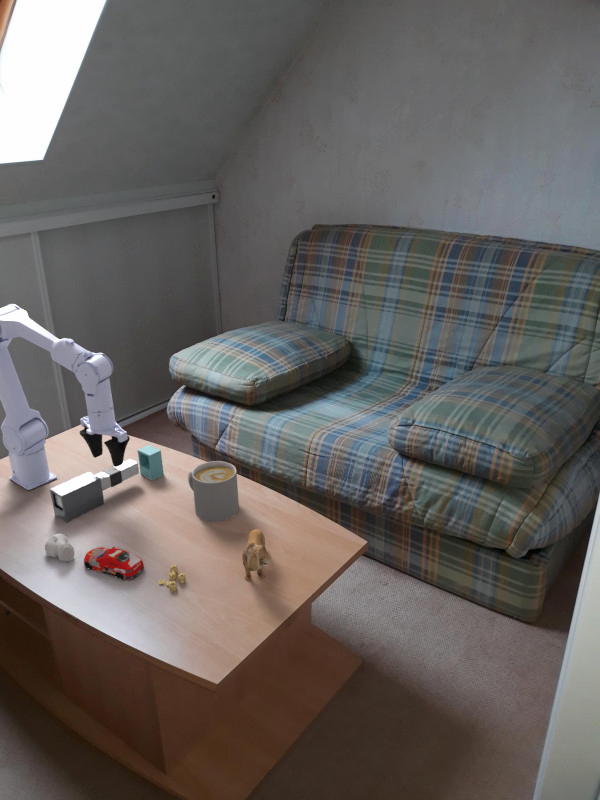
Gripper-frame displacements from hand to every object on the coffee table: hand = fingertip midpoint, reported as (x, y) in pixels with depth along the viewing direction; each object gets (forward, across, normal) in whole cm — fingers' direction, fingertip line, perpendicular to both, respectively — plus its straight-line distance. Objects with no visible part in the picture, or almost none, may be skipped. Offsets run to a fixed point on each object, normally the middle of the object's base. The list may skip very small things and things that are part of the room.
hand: (108, 460), depth 154 cm
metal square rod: (+7, -1, -3) cm, 7 cm away
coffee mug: (+10, +23, +10) cm, 27 cm away
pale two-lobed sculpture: (+10, +10, -22) cm, 26 cm away
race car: (+10, +22, -18) cm, 30 cm away
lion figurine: (+10, +46, -1) cm, 47 cm away
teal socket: (+9, 0, +12) cm, 15 cm away
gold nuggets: (+10, +36, -13) cm, 39 cm away
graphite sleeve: (+9, -1, -9) cm, 13 cm away
